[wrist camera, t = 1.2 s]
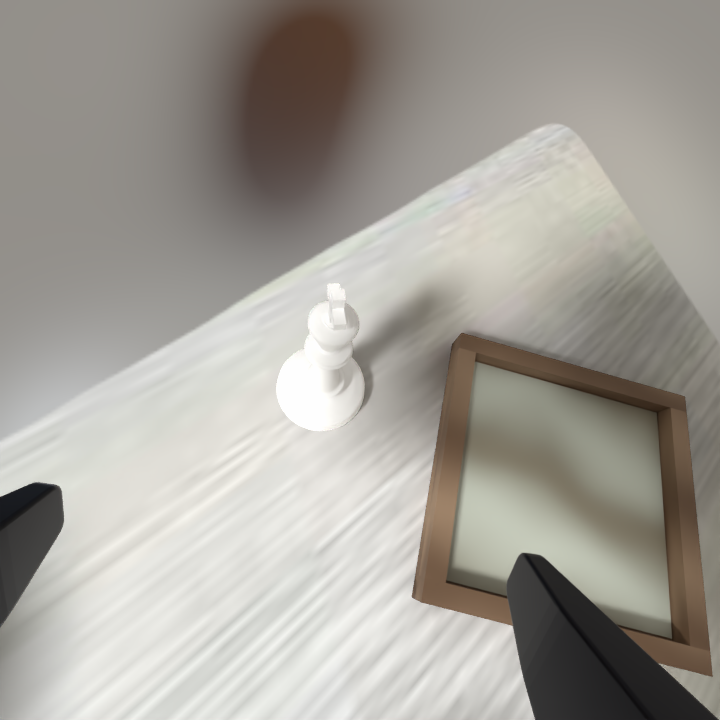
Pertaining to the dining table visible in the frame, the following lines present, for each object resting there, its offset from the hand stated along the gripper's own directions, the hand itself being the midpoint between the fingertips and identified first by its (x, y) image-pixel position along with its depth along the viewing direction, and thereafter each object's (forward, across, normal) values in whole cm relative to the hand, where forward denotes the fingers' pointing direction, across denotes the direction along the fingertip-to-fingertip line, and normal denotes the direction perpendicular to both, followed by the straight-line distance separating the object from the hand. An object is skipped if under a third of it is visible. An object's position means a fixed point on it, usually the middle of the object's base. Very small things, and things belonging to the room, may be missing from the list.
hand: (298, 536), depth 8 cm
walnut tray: (+12, -14, +6) cm, 20 cm away
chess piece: (+15, 0, +4) cm, 16 cm away
